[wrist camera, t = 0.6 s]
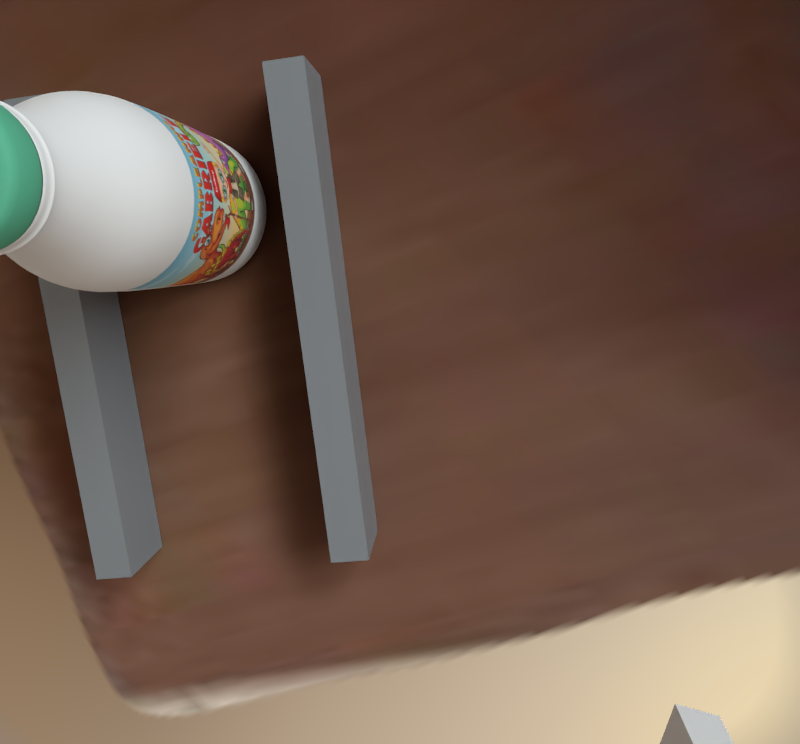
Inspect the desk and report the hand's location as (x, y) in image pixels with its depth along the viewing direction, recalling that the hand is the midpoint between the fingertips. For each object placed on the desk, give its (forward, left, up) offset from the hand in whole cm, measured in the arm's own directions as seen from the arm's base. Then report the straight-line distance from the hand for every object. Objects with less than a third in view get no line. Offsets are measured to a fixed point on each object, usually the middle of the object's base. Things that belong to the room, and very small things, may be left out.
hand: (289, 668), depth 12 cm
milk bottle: (-11, -10, -28) cm, 31 cm away
